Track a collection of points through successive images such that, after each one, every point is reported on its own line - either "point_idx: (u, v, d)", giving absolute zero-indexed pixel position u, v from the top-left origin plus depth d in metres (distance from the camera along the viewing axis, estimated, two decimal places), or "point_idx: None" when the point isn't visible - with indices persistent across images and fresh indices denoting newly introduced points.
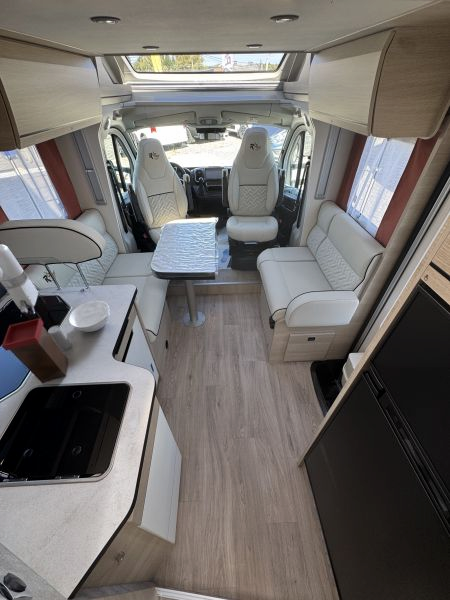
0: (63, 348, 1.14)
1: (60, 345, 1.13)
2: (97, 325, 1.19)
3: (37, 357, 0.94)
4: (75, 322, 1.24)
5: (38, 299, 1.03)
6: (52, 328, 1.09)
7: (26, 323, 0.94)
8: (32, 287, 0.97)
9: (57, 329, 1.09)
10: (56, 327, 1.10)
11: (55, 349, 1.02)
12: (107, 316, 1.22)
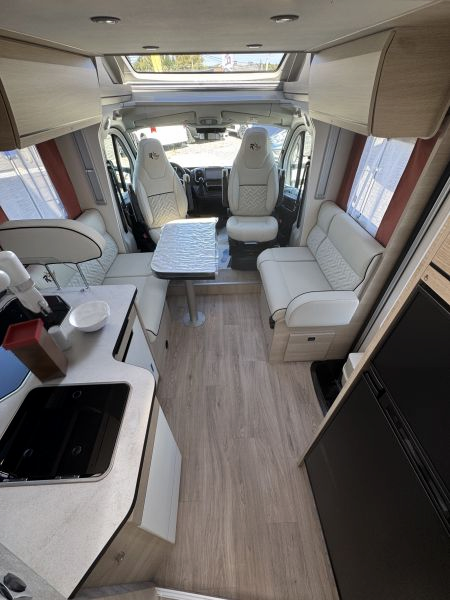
0: (63, 348, 1.14)
1: (60, 345, 1.13)
2: (97, 325, 1.19)
3: (37, 357, 0.94)
4: (75, 322, 1.24)
5: None
6: (52, 328, 1.09)
7: (26, 323, 0.94)
8: None
9: (57, 329, 1.09)
10: (56, 327, 1.10)
11: (55, 349, 1.02)
12: (107, 316, 1.22)
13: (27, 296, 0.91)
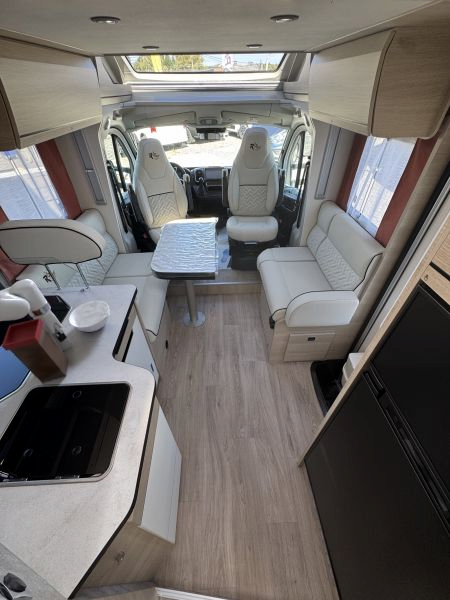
0: (63, 348, 1.14)
1: (60, 345, 1.13)
2: (97, 325, 1.19)
3: (37, 357, 0.94)
4: (75, 322, 1.24)
5: None
6: None
7: (26, 323, 0.94)
8: None
9: None
10: None
11: (55, 349, 1.02)
12: (107, 316, 1.22)
13: (44, 319, 0.99)
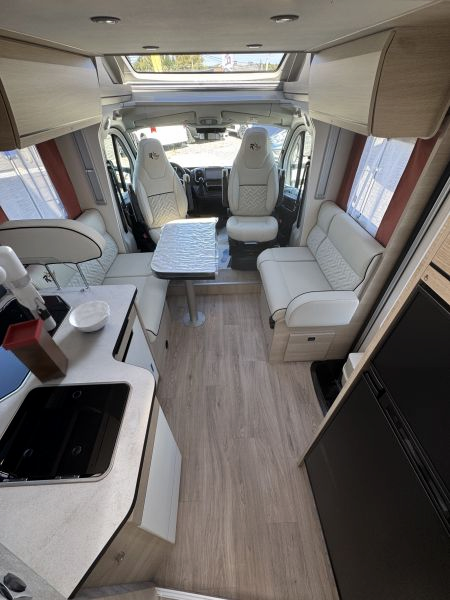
0: (46, 328, 1.04)
1: (43, 324, 1.03)
2: (97, 325, 1.19)
3: (37, 357, 0.94)
4: (75, 322, 1.24)
5: None
6: None
7: (26, 323, 0.94)
8: None
9: None
10: None
11: (55, 349, 1.02)
12: (107, 316, 1.22)
13: (23, 292, 0.90)
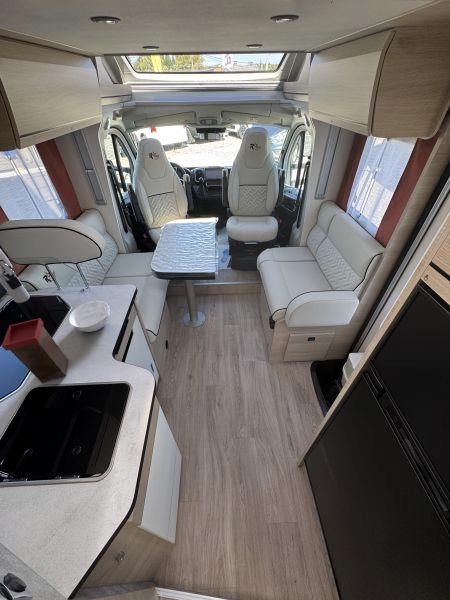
0: (18, 299, 0.90)
1: (13, 295, 0.88)
2: (97, 325, 1.19)
3: (37, 357, 0.94)
4: (75, 322, 1.24)
5: None
6: None
7: (26, 323, 0.94)
8: None
9: None
10: None
11: (55, 349, 1.02)
12: (107, 316, 1.22)
13: None
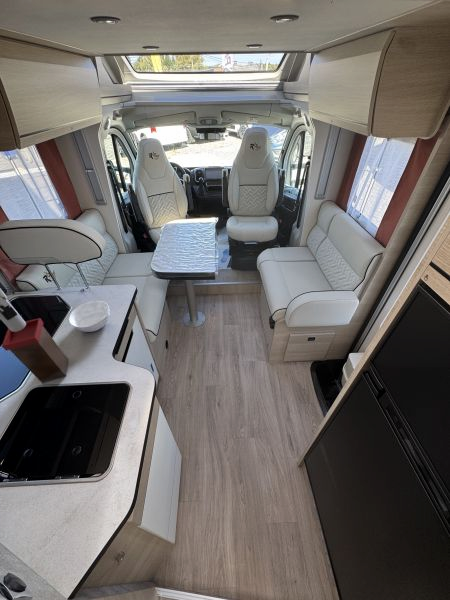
0: (13, 329, 0.86)
1: (8, 324, 0.85)
2: (97, 325, 1.19)
3: (37, 357, 0.94)
4: (75, 322, 1.24)
5: None
6: None
7: (26, 323, 0.94)
8: None
9: None
10: None
11: (55, 349, 1.02)
12: (107, 316, 1.22)
13: None
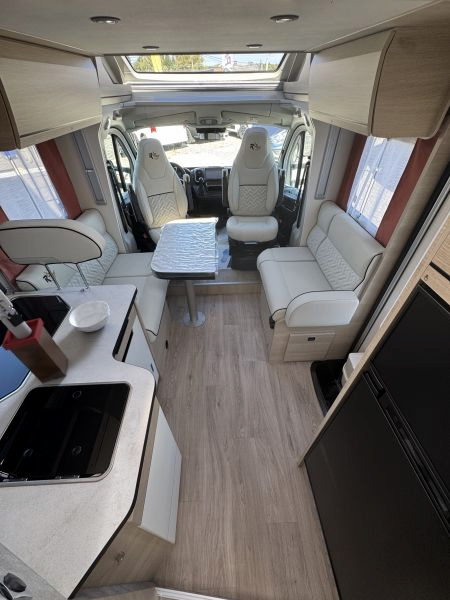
0: (20, 336, 0.89)
1: (15, 332, 0.87)
2: (97, 325, 1.19)
3: (37, 357, 0.94)
4: (75, 322, 1.24)
5: None
6: None
7: (26, 323, 0.94)
8: None
9: None
10: None
11: (55, 349, 1.02)
12: (107, 316, 1.22)
13: None
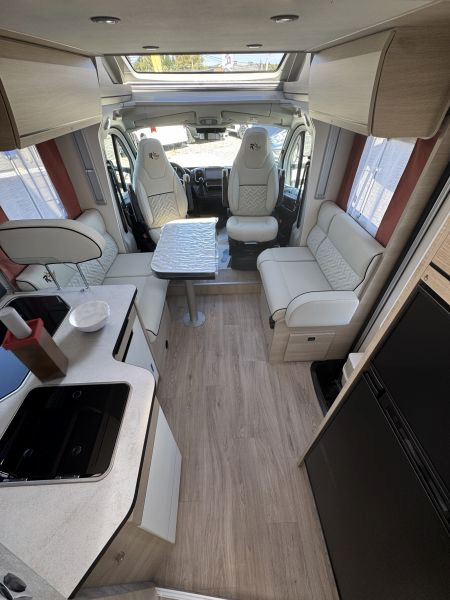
0: (20, 336, 0.89)
1: (15, 332, 0.87)
2: (97, 325, 1.19)
3: (37, 357, 0.94)
4: (75, 322, 1.24)
5: None
6: (3, 310, 0.84)
7: (26, 323, 0.94)
8: None
9: (9, 311, 0.84)
10: (8, 309, 0.85)
11: (55, 349, 1.02)
12: (107, 316, 1.22)
13: None
